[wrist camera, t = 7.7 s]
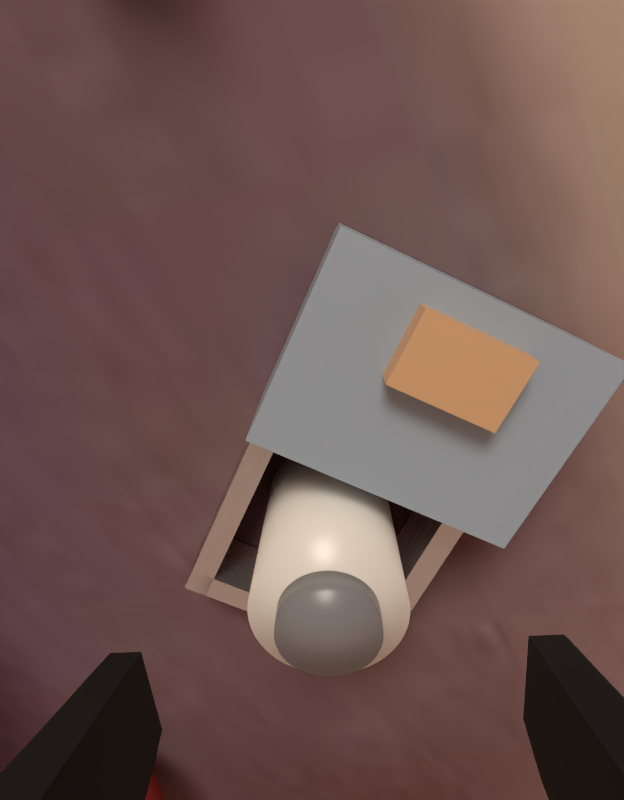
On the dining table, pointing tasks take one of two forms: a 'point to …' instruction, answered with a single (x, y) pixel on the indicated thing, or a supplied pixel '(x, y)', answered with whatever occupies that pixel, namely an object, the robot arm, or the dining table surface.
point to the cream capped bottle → (327, 575)
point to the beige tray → (235, 561)
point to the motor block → (429, 390)
